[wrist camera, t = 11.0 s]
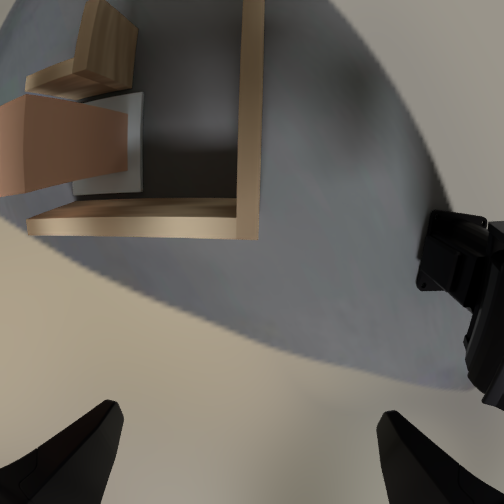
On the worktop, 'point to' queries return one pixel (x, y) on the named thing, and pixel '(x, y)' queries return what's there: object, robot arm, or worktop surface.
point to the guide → (120, 78)
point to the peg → (58, 143)
